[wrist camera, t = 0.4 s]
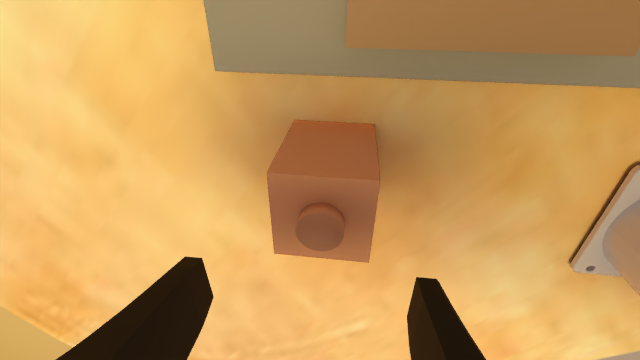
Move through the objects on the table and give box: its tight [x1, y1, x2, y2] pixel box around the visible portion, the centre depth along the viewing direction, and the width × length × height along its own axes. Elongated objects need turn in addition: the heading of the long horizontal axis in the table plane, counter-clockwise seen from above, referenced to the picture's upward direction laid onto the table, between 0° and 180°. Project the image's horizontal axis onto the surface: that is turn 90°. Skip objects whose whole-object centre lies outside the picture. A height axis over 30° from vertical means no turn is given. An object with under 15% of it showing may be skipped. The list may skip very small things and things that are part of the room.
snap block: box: [267, 120, 380, 263], centre depth 15 cm, size 4×4×7 cm
